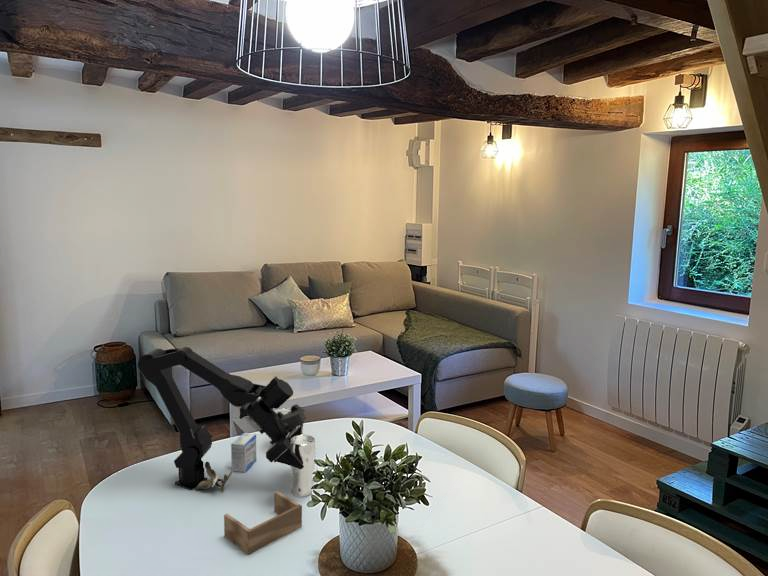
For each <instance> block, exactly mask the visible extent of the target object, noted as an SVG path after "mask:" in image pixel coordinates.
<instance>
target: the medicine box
mask: <svg viewBox="0 0 768 576" xmlns="http://www.w3.org/2000/svg"><path fill="white" fill-rule="evenodd" d="M230 448H231V449H230V450H231V451H230V452H231V454H230V455H231V471H232V472H240V473H246V472H247V471H249V469H250V468H251V467H252V466H253V464H255V462H257V434H255V433H251V432H250V433H249V432H243V433H242V434H240V435H239V436H238V437H237V438H236V439H235V440H234V441H232V443H230Z"/></svg>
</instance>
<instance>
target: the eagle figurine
mask: <svg viewBox="0 0 768 576" xmlns="http://www.w3.org/2000/svg"><path fill="white" fill-rule="evenodd" d="M204 469H205V471H206V474H207V475H208V476H209V477H210V479H208V480H207V481H202V482H200V483H199V484H198V485H197V486H196V488H194V490H200V489H203V490H206V489H209V488H210V487H212V488H213V487H214V486H215V487H218V488H220V491H221V492H222V493H223V492H224V488H225V486H226V483H227V482H228V481H229V478H230V477H231V476H232V474H233V471H232V470H231V471H230V472H229V474H228V475H227V474H226V473H224V474H223V479H221V478H219V476H218V475H217V473H216V471H215V470H214V469H213V468H212V467H211V464H210V462H209V461H205V463H204ZM219 482H221V484H219Z"/></svg>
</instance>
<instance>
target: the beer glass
mask: <svg viewBox="0 0 768 576" xmlns="http://www.w3.org/2000/svg"><path fill="white" fill-rule="evenodd" d="M291 443H292V450H293V452H294V453H295V455H296V456H297V457H298V458H299V460H300V461H301V462H302V464H303V465H304V468H302V469H298V468H296V467H293V466H290V470H291V471H290V472H291V476H292V482H291V483H292V485H291V488H290V493H291V494H292V495H293V496H295V497H299V498H301V497H302V498H304V497H308V496H311V495H312V494H313V493H312V490H311V487H312V486H313V487H314V485H313V474H314V469H315V464H316V462H315V463H314V460H315V461H316V455H317V453H316V452H317V451H316V449H317V448H316V438H315V437H314V436H313V435H310V434H303V435H297V436H294V437H292V438H291V442H290V444H291Z"/></svg>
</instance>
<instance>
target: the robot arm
mask: <svg viewBox="0 0 768 576" xmlns="http://www.w3.org/2000/svg"><path fill="white" fill-rule="evenodd" d="M179 365H180V366H182V368H184V369H186V370H188V371H189V372H191V373H192V374H194V375H196V376H197V377H199V378H200V379H202V380H203V381H205V382H206V383H208V384H210V385H211V386H213V387H214V388H216V389H217V390H218V391H219V392H220V395H221V396H222V397H223V398H224V399H225V400H226V401H227V402H229V404H231V405H232V406H233V407H237V408H239V419H240V420H242V419H243V418H244V417H245V416H248V417H249V419H251V420H252V421H253V423H255V424H256V426H257V427H258V428H260V429H259V433H260V434H261V435H263V434H264V433H265V435H266V436H267V437H268V438H269V439H270V441H269V443H270V446H269V448H268V449H267V450H266V452H265V458H266V459H267V460H268V461H269V462H270V463H273V462H274V463H280V464H284V465H286V466H287V465H288V466H290V467H291V466H293V467H296V468H298V469H302V468H304V465H303V464H302V462H301V461H300V460H299V458H298V457H297V456H296V455H295V453H294V452H293V450H292V443H291V444H290V442H291V438H292V437H294V436H297V435H304V433H303V431H304V430H303V429H304V428H303V427H304V424H305V421H306V420H307V418H306V414H305V409H304V408H303V407H302V406H299V404H297V403H296V404H294V405H293V404H292V405H291V407H290V410H291V412H288V413H287V414H285V415H283V414H282V413H281V412H278V413H276V412H275V411H274V410H275V409H276V410H279V408H280V407H281V406H283V404H284V403H286V402H288V400H289V399H290V398H291V397H292V396H293V395H294V390H293V388H292V387H291V385H290V384H289V383H288V382H287V381H285V380H283V379H281V378H279V377H278V376H274V377H273V378H272V379H271V380H270V381H269V383H267V384H266V385H263V384H259V383H253V382H252V381H251V380H249V379H246V378H245V377H242V376H241V375H236V374H231V373H229V372H227V371H225V370H224V369H221V368H220V367H218V366H217V365H215V364H214V363H212V362H210V361H209V360H207V359H205V357H203V356H202V355H200V354H198V353H197V352H196V351H195V352H194V351H193V349H192V348H190V347H187V346H183V347H179V348H169V349H162V348H154V349H152V350H150V351H149V352H147V353H145V354H143V355H141V356H140V357H139V358H138V361H137V369H138V371H139V372H140V373H141V374H142V376H143V377H144V379H146V381H147V382H149V383H150V384H152V386H154V387H155V388H156V390H157V393H159V396H160V397H161V400H162V402H163V403H164V406H165V408H166V410H167V411H168V414H169V415H170V417H171V419H172V421H173V423H174V425H175V427H176V428H177V431H178V434H179V447H180V451H181V452H180V454H179V455H178V456H176V458H175V459H174V460H173V463H174V466H175V468H176V469H178V479H177V480H176V481H174V485H176V486H178V487H182V488H184V489H188V490H195V488H196V486H197V485H198V484H199V483H200V482H202V481H207V480H209V478H208V477H206V476H205V466H204V461H203V460H202V458H203V457H205V455H206V454H207V453H208V452H209V450H210V449H211V447H212V445H213V440H212V438H213V435H211V433H210V432H209V429H208V427H207V425H205V424H204V425H203V426H201V425H199V424H197V423H196V421H195V418H194V417H193V415H192V413H191V412H190V409H189V407H188V405H187V403H186V401H185V399H184V397H183V396H182V393H181V392H180V389H179V387H178V385H177V384H176V382H175V379H174V377H173V367H177V366H179ZM259 397H260V398H259Z"/></svg>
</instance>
